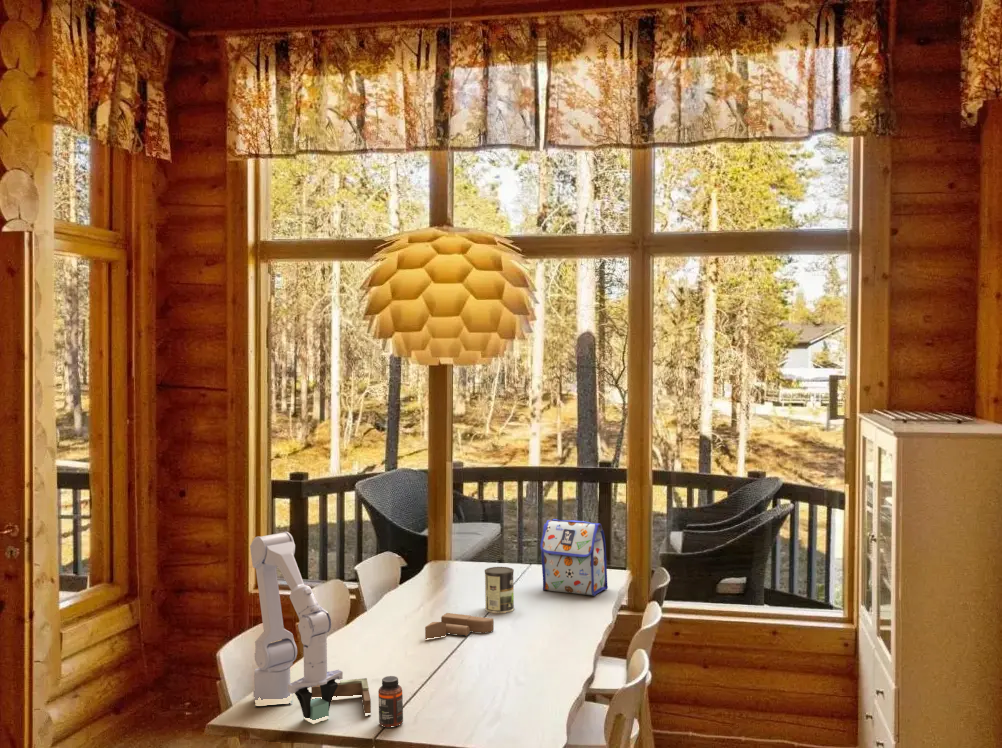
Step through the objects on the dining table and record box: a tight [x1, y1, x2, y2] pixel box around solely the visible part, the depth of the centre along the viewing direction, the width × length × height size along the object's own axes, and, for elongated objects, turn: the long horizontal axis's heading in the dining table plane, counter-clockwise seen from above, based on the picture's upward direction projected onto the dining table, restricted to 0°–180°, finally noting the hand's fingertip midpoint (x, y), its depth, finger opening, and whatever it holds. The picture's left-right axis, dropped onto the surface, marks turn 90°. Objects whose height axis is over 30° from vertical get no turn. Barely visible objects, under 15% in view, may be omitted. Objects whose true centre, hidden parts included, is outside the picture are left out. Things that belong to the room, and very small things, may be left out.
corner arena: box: [310, 677, 372, 714], centre depth 234 cm, size 14×14×5 cm
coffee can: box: [484, 566, 515, 614], centre depth 321 cm, size 10×10×14 cm
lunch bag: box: [539, 518, 609, 597], centre depth 344 cm, size 23×17×27 cm
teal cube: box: [310, 698, 330, 720], centre depth 227 cm, size 4×4×4 cm
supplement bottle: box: [378, 675, 404, 728], centre depth 224 cm, size 6×6×11 cm
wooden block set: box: [424, 612, 495, 640], centre depth 292 cm, size 17×6×18 cm
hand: (316, 713), depth 227 cm, fingers open, 5 cm apart
